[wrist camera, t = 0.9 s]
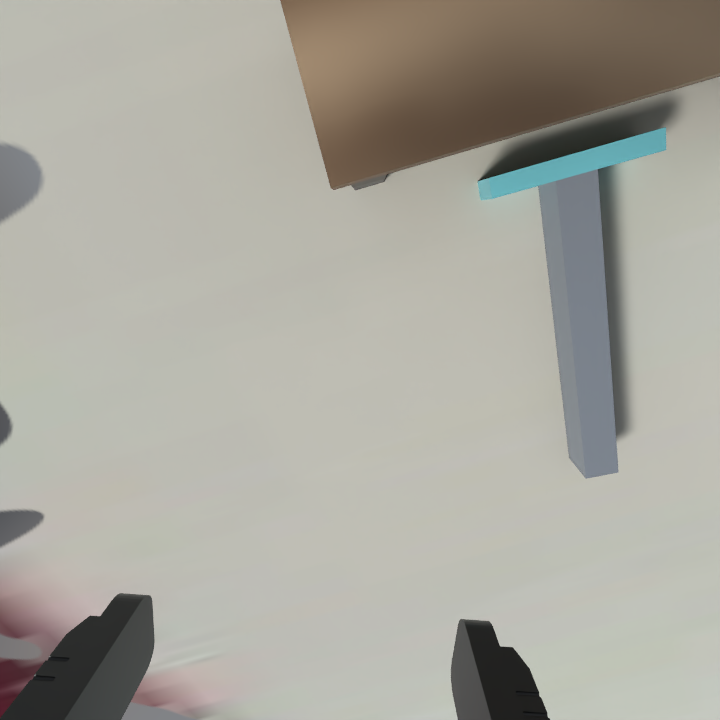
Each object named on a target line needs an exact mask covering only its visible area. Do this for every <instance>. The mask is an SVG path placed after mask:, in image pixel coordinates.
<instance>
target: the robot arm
mask: <svg viewBox="0 0 720 720" xmlns="http://www.w3.org/2000/svg"><path fill="white" fill-rule="evenodd" d="M153 649H154V625H153V607H152V598H151V596H149V595H136V594H123V593H120V594H118V595H117V596H115V597H114V599H113V600H112V601H111V603H110V604H109V605H108V607H107V608H106V609H105V611H104V612H103V613H102V615H101V616H89V617H88V618H87V619H85V620H84V621H83V622H81V623H80V624H79V625H78V626H76V627H75V628H74V629H72V630H71V631H70V632H69V633H67V634H66V636H65V637H64V638H63V639H62V641H61V642H60V643H59V644H58V646H57V647H56V648H55V650H54V651H53V652H52V653H51V655H50V656H49V659H48V661H45V662H44V663H43V665H42V666H41V667H40V668H39V670H38V671H37V672H36V674H35V675H34V678H33V680H30V681H29V682H28V684H27V685H26V686H25V687H24V689H23V690H22V691H21V693H20V694H19V695H18V696H17V698H16V699H15V700H14V701H13V703H12V704H11V705H10V706H9V708H8V709H7V710H6V712H5V713H4V714H3V715H2V717H1V718H0V720H121V719H122V716H123V715H124V713H125V711H126V709H127V707H128V705H129V703H130V701H131V700H132V698H133V696H134V694H135V692H136V690H137V688H138V686H139V684H140V682H141V681H142V679H143V677H144V675H145V673H146V671H147V669H148V666H149V664H150V661H151V658H152V654H153ZM451 683H452V692H453V697H454V702H455V707H456V712H457V717H458V720H550V719H549V718H548V716H547V711H546V709H545V706H544V704H543V701H542V699H541V697H539V691H538V689H537V686H536V684H535V681H534V679H533V676H532V674H531V671H530V669H529V667H528V666H527V665H526V664H525V662H524V661H523V660H522V659H521V657H520V656H519V655H518V653H517V652H516V651H515V650H514V648H513V647H500V646H499V643H498V640H497V637H496V634H495V631H494V629H493V626H492V624H491V623H490V622H489V621H479V620H465V619H460V621H459V624H458V629H457V635H456V641H455V646H454V652H453V658H452V664H451Z"/></svg>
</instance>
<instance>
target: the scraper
mask: <svg viewBox="0 0 720 720" xmlns="http://www.w3.org/2000/svg"><path fill="white" fill-rule="evenodd" d="M664 150H666V127H665V128H661V129H658V130H654V131H651V132H647V133H644V134H640V135H637V136H633V137H630V138H626V139H623V140H619V141H616V142H612V143H609V144H605V145H602V146H598V147H595V148H591V149H588V150H584V151H581V152H577V153H574V154H570V155H567V156H564V157H560V158H557V159H553V160H550V161H546V162H543V163H539V164H536V165H532V166H529V167H525V168H522V169H518V170H515V171H511V172H508V173H504V174H501V175H497V176H494V177H490V178H487V179H484V180H481V181H478V187H479V193H480V199H481V200H487V199H493V198H497V197H500V196H504V195H507V194H511V193H514V192H518V191H522V190H525V189H529V188H532V187H536V186H538V188H539V197H540V205H541V214H542V223H543V232H544V241H545V249H546V258H547V267H548V276H549V285H550V294H551V302H552V311H553V320H554V329H555V338H556V346H557V355H558V364H559V373H560V382H561V390H562V399H563V408H564V417H565V426H566V434H567V443H568V452H569V458H570V459H571V461H572V462H573V463H574V464H575V466H576V467H577V468H578V469H579V471H580V472H581V473H582V474H583V476H584V477H585V478H591V477H597V476H602V475H607V474H612V473H618V459H617V445H616V430H615V415H614V400H613V386H612V371H611V356H610V341H609V327H608V312H607V297H606V282H605V268H604V253H603V238H602V223H601V209H600V194H599V179H598V169H600V168H604V167H607V166H611V165H614V164H618V163H621V162H625V161H629V160H632V159H636V158H639V157H643V156H646V155H650V154H653V153H657V152H661V151H664Z"/></svg>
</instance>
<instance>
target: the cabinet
mask: <svg viewBox="0 0 720 720" xmlns="http://www.w3.org/2000/svg"><path fill="white" fill-rule="evenodd" d="M280 1H281V4H282V8H283V12H284V15H285V19H286V23H287V27H288V30H289V34H290V38H291V42H292V45H293V49H294V53H295V56H296V60H297V64H298V68H299V71H300V75H301V79H302V82H303V86H304V90H305V94H306V97H307V101H308V105H309V108H310V112H311V116H312V120H313V123H314V127H315V131H316V134H317V138H318V142H319V146H320V149H321V153H322V157H323V160H324V164H325V168H326V172H327V175H328V179H329V183H330V186H331V188H332V189H333V190H335V189H339V188H342V187H345V186H349V185H352V187H353V188H354V189H355V190H358V189H361V188H364V187H368V186H371V185H375V184H378V183H382V182H384V181H385V178H386V175H387V174H389V173H393V172H396V171H400V170H403V169H406V168H410V167H413V166H417V165H420V164H423V163H427V162H430V161H434V160H437V159H440V158H444V157H447V156H451V155H454V154H457V153H461V152H464V151H468V150H471V149H474V148H478V147H481V146H485V145H488V144H491V143H495V142H498V141H502V140H505V139H508V138H512V137H515V136H518V135H522V134H525V133H529V132H532V131H535V130H539V129H542V128H546V127H549V126H552V125H556V124H559V123H563V122H566V121H569V120H573V119H576V118H580V117H583V116H586V115H590V114H593V113H597V112H600V111H603V110H607V109H610V108H614V107H617V106H620V105H624V104H627V103H630V102H634V101H637V100H641V99H644V98H647V97H651V96H654V95H658V94H661V93H664V92H668V91H671V90H675V89H678V88H681V87H685V86H688V85H692V84H695V83H698V82H702V81H705V80H709V79H712V78H715V77H719V76H720V0H280Z"/></svg>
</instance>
